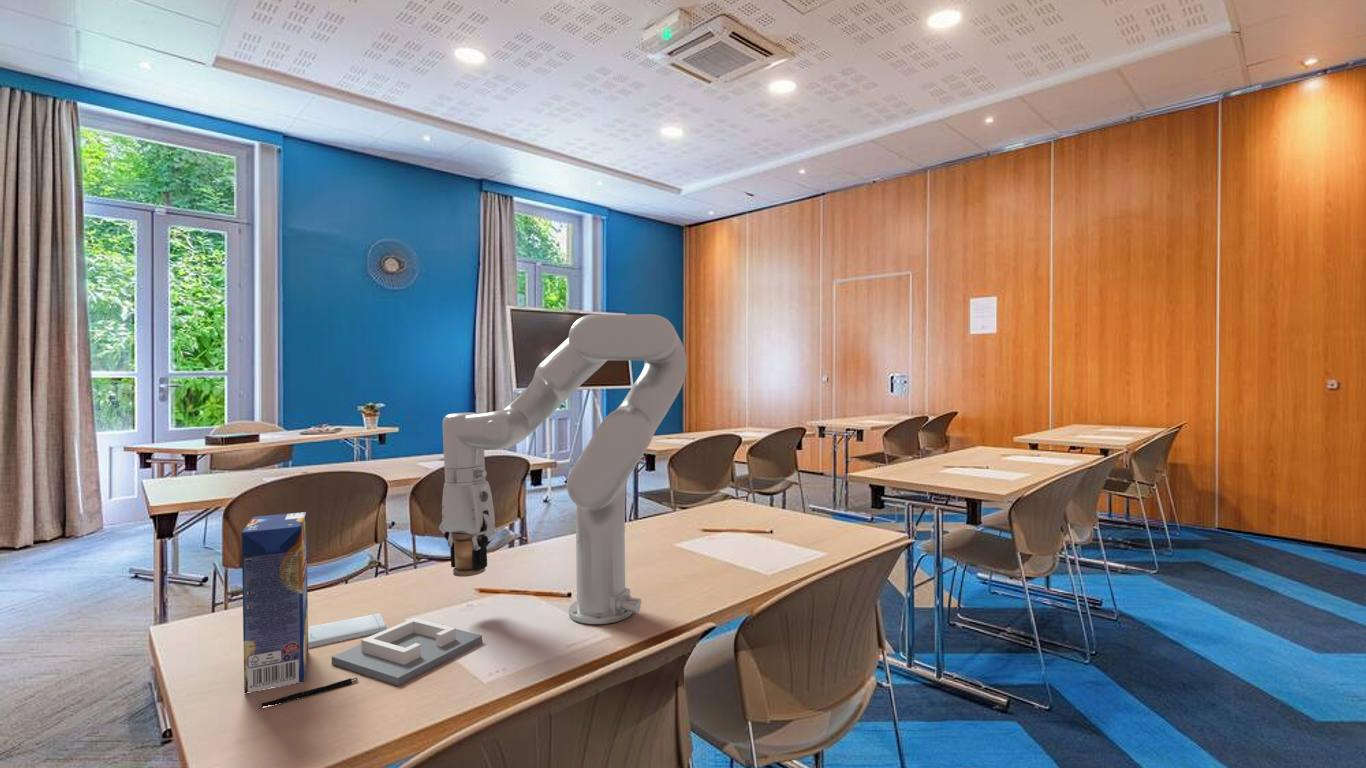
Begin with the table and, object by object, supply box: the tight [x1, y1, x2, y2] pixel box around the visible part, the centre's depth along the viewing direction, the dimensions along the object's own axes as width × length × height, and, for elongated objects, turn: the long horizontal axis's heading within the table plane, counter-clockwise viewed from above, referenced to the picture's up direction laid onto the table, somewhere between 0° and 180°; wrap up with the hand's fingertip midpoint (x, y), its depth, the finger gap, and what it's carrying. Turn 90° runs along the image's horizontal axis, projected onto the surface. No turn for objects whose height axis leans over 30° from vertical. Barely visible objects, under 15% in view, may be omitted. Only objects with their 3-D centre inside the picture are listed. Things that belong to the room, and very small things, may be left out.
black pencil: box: [260, 677, 359, 708], centre depth 91 cm, size 12×1×1 cm, turn 128°
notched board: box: [331, 617, 483, 686], centre depth 104 cm, size 16×17×3 cm
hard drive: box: [308, 612, 388, 649], centre depth 113 cm, size 2×8×12 cm
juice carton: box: [241, 511, 309, 693], centre depth 97 cm, size 12×8×24 cm, turn 28°
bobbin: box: [452, 531, 486, 578], centre depth 121 cm, size 6×6×8 cm
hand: (469, 566), depth 121 cm, fingers closed on bobbin, 5 cm apart
